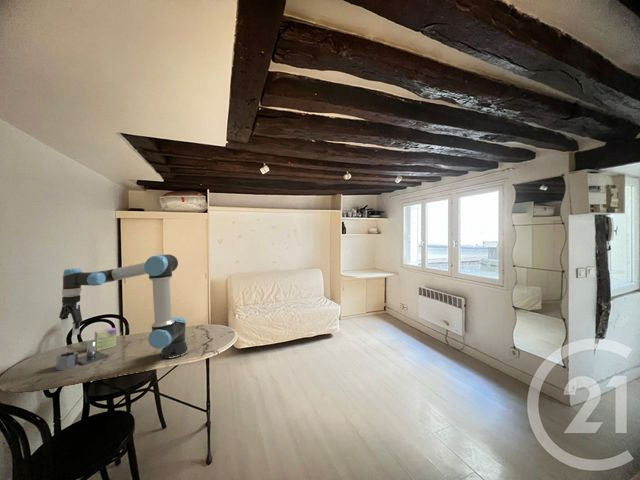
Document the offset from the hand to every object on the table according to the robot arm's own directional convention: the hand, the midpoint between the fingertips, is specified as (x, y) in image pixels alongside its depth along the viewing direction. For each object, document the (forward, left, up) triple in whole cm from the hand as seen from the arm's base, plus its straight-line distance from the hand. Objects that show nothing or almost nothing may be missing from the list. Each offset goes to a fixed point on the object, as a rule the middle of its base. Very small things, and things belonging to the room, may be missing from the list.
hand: (69, 332), depth 144 cm
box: (+11, -23, -19) cm, 32 cm away
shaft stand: (-1, -10, -19) cm, 22 cm away
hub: (-1, +1, -19) cm, 19 cm away
